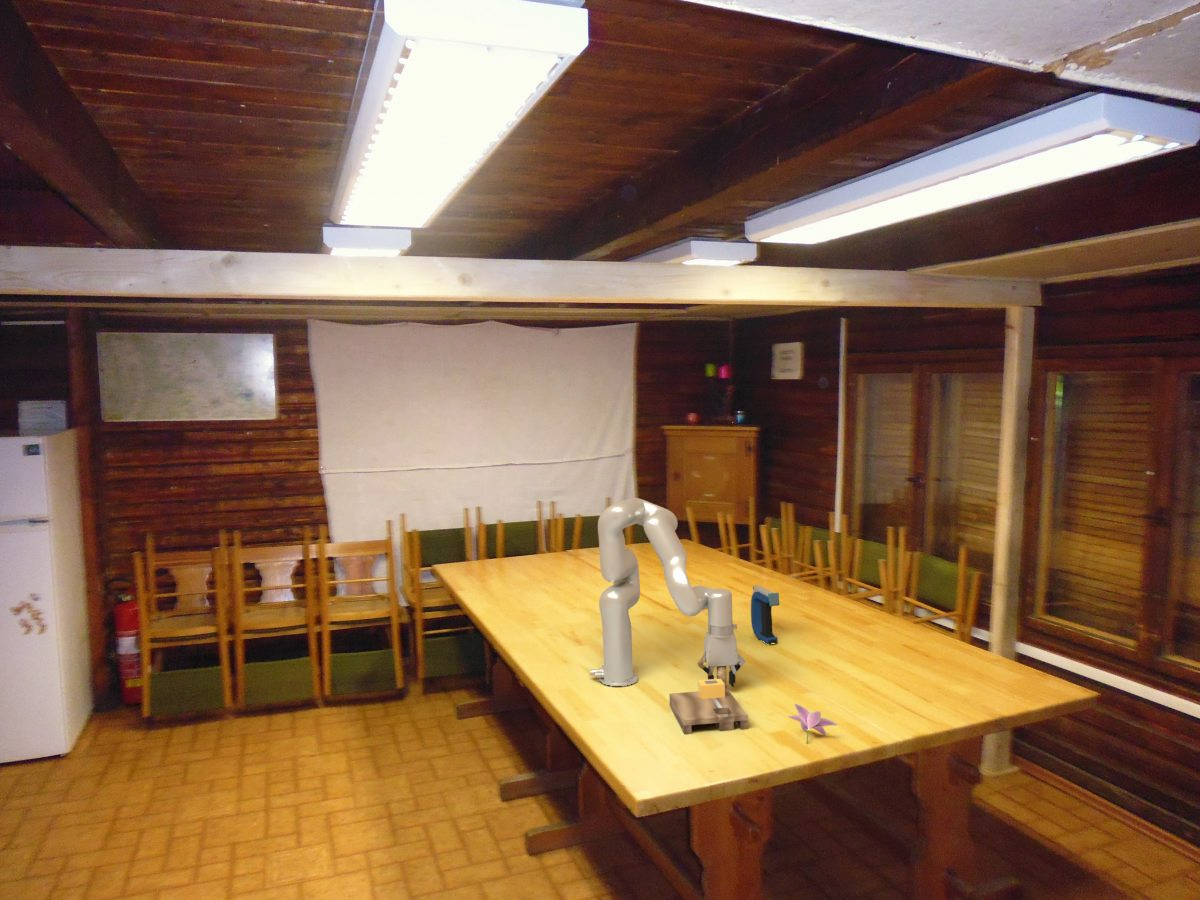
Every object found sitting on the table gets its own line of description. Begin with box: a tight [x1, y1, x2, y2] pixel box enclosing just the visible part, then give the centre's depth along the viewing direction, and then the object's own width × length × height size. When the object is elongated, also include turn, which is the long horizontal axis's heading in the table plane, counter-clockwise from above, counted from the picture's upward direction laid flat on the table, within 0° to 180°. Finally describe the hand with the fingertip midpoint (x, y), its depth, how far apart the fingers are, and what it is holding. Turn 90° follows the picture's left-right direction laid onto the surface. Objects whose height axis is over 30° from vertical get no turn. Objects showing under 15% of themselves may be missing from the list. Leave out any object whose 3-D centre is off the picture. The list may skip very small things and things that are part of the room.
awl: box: [716, 666, 728, 689], centre depth 253 cm, size 3×3×9 cm
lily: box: [787, 703, 838, 745], centre depth 219 cm, size 12×12×10 cm
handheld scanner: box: [750, 585, 780, 645], centre depth 304 cm, size 5×16×20 cm, turn 15°
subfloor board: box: [669, 688, 749, 735], centre depth 235 cm, size 18×20×4 cm
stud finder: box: [697, 678, 725, 699], centre depth 241 cm, size 7×4×4 cm, turn 97°
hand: (721, 685), depth 253 cm, fingers open, 5 cm apart
